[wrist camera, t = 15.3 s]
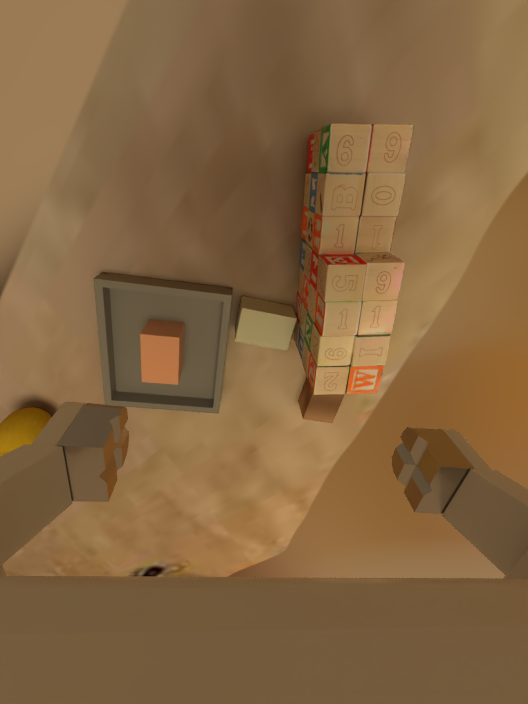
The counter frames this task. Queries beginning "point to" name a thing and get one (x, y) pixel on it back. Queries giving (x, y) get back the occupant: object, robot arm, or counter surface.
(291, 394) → the counter surface
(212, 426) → the counter surface
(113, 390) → the charcoal tray
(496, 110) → the counter surface
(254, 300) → the sage brick
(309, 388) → the walnut brick
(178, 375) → the terracotta brick
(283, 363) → the counter surface
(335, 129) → the stack of blocks
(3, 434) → the lemon
